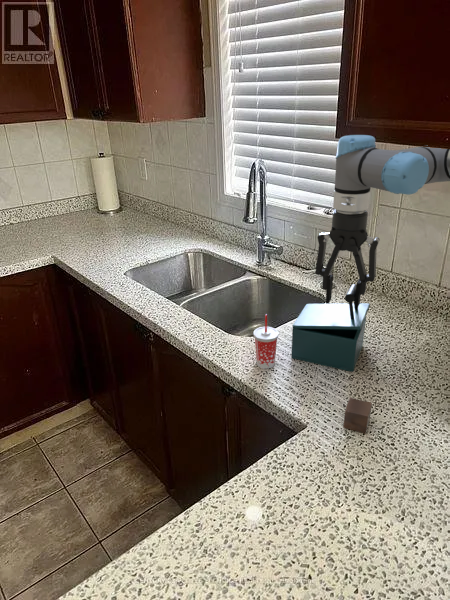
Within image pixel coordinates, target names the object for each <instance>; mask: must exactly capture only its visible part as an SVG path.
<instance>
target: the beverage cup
mask: <svg viewBox="0 0 450 600" xmlns="http://www.w3.org/2000/svg"><path fill="white" fill-rule="evenodd" d="M279 334H280V333H279V331H278V329H276V328H274V327H272V326H268V314H267V313H265V314H264V326H259V327H257V328H255V329H254V331H253V338H254V345H255V358H256V361H255V362H256V365H257V367H258V368H260V369H264V370H269V369H272V368H273V367H274V366H275V365H276V355H277V345H278V338H279Z"/></svg>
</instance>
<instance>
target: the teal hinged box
mask: <svg viewBox="0 0 450 600" xmlns="http://www.w3.org/2000/svg"><path fill="white" fill-rule="evenodd" d="M366 323H367V316H366V317H365V320H364V322H363V325H362V327H361V330H357V329H303V328H293V327H292V331H291V333H292V334H291V356H290V358H291V359H293V360H297V361H301V362H306V363H311V364H314V365H315V364H316V365H320V366H325V367H328V368H333V369H336V370H337V369H338V370H341V371H346V372H351V373H354V371H355V368H356V366H357V363H358V360H359V357H360V355H361V352H362V349H363V346H364V340H365V339H364V338H365V330H366Z"/></svg>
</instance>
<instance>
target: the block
mask: <svg viewBox="0 0 450 600" xmlns="http://www.w3.org/2000/svg"><path fill="white" fill-rule="evenodd" d="M372 407H373V402H369V401H366V400H363V399H358V398H354V397H349V399H348V401H347V405H346V407H345V409H344V410H345V411H344V417H343V426H342V427H343V429H347V430H350V431H353V432H358V433H361V434H364V435H367V431H368V427H369V423H370V420H371V413H372Z"/></svg>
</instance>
